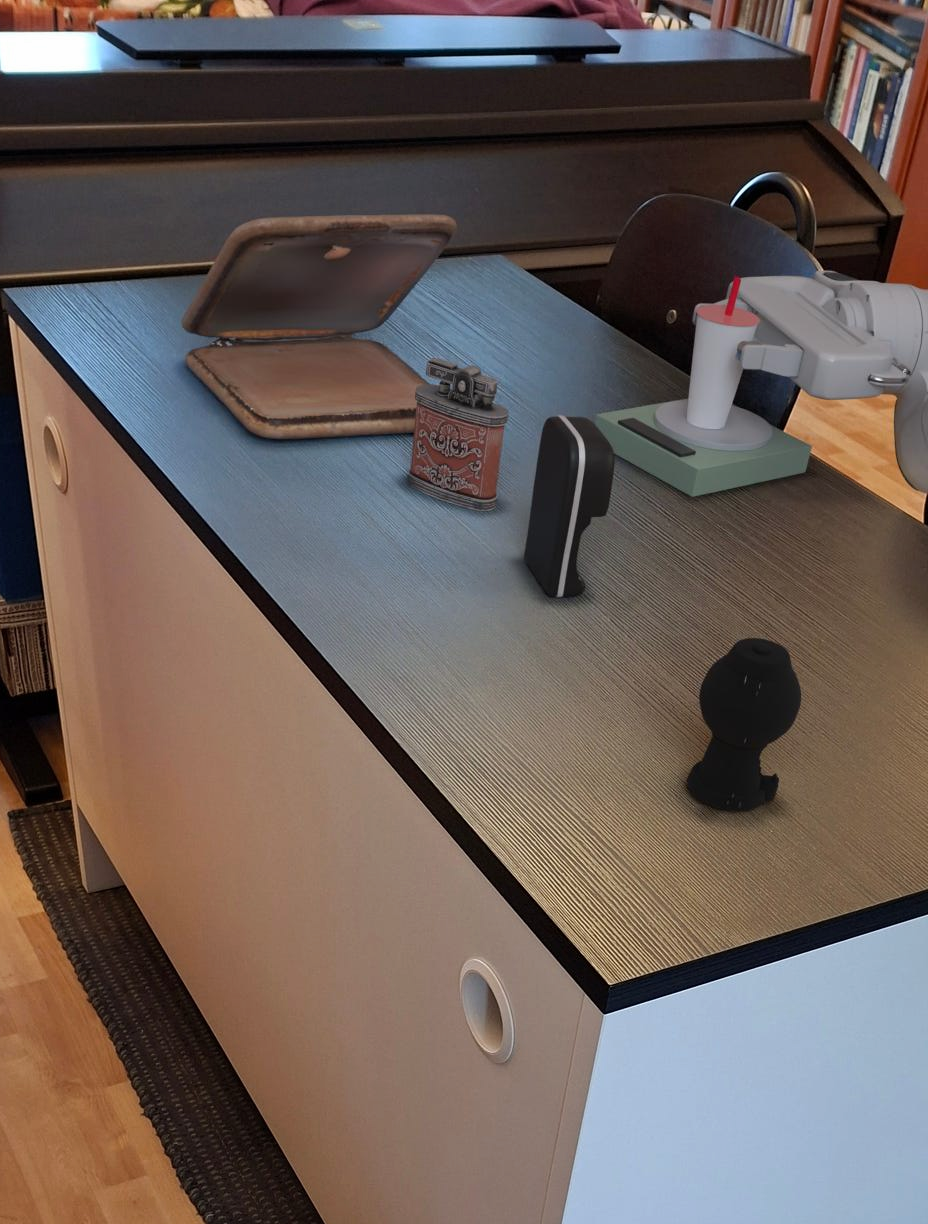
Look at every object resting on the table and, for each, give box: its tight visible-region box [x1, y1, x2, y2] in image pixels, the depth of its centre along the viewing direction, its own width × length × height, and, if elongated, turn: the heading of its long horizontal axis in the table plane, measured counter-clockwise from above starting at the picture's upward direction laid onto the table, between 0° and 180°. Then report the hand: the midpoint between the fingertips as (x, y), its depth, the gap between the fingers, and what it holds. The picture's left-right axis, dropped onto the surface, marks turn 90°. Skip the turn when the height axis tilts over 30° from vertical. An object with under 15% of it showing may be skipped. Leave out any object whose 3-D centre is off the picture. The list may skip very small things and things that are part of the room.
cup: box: [686, 274, 760, 429], centre depth 135 cm, size 5×5×12 cm
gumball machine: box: [686, 627, 802, 819], centre depth 94 cm, size 7×6×10 cm
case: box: [181, 213, 458, 440], centre depth 136 cm, size 20×21×16 cm
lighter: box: [406, 356, 510, 512], centre depth 125 cm, size 8×3×10 cm, turn 58°
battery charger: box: [523, 414, 616, 598], centre depth 115 cm, size 7×4×11 cm, turn 15°
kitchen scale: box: [594, 398, 813, 498], centre depth 139 cm, size 14×13×3 cm
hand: (717, 335), depth 133 cm, fingers open, 8 cm apart
